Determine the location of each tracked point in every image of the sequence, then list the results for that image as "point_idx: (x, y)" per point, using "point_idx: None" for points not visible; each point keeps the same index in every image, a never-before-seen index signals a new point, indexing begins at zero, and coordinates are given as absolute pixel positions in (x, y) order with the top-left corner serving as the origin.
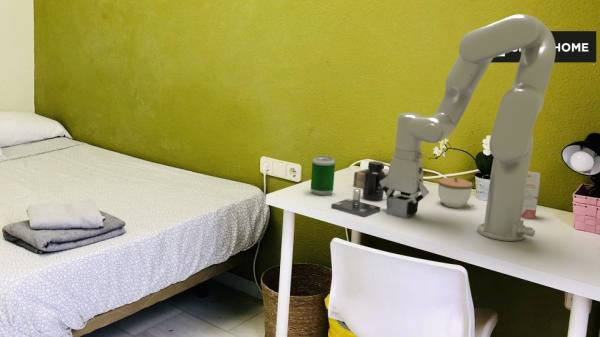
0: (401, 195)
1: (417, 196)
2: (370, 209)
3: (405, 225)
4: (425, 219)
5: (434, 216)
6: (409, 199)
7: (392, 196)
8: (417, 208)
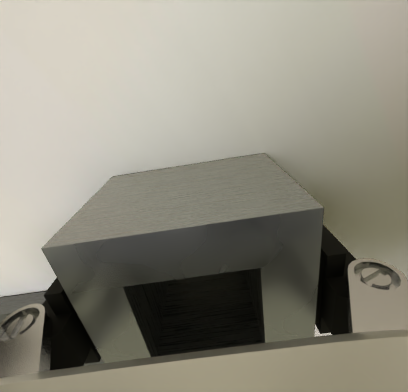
0: (123, 274)
1: (396, 327)
2: (101, 358)
3: (318, 331)
4: (362, 192)
5: (396, 72)
6: (276, 309)
7: (111, 358)
8: (330, 235)
